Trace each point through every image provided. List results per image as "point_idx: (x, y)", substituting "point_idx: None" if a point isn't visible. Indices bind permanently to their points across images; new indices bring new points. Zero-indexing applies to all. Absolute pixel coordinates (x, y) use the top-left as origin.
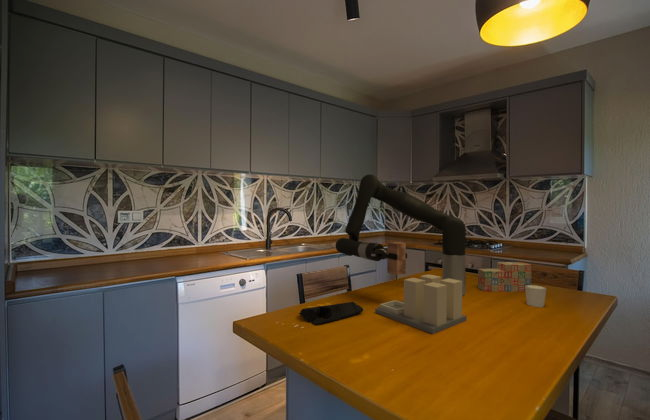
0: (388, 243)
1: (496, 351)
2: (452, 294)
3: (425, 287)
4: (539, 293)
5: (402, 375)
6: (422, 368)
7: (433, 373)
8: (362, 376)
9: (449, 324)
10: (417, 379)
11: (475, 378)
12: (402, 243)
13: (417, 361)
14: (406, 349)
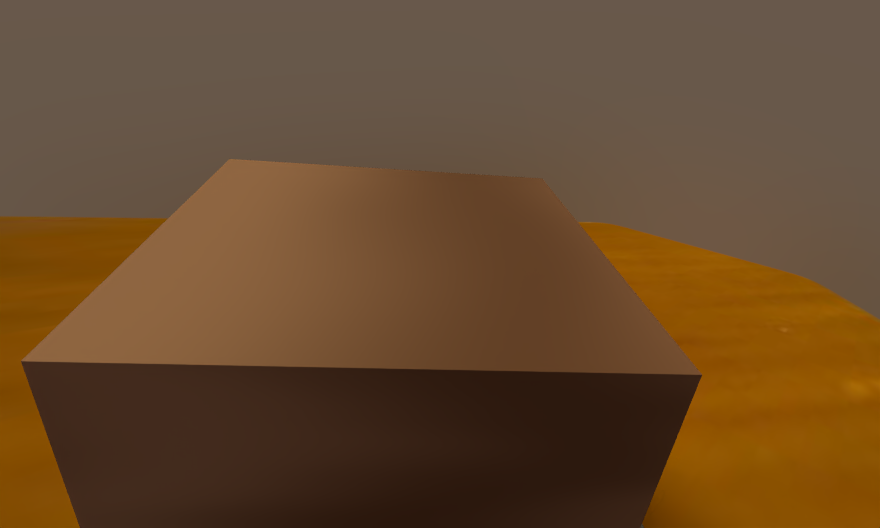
0: (663, 355)
1: None
2: None
3: None
4: None
5: (766, 312)
6: (706, 307)
7: (691, 292)
8: (871, 343)
9: None
10: (736, 297)
11: (617, 261)
12: (345, 169)
13: (704, 321)
14: (708, 358)
